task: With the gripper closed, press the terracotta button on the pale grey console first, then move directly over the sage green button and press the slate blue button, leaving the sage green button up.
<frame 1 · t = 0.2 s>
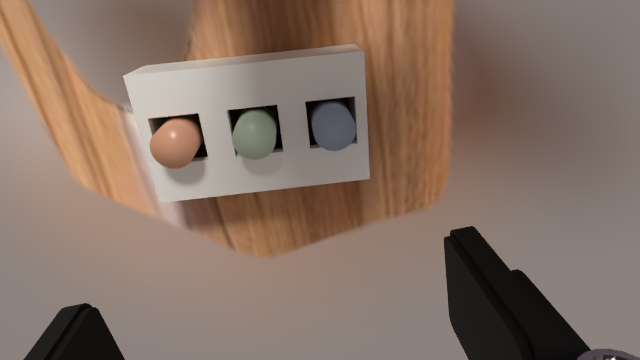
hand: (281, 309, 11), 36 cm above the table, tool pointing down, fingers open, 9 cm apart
slate button: (332, 123, 40), point 6 cm above the table, slide at 0.0 cm
terracotta button: (178, 139, 40), point 6 cm above the table, slide at 0.0 cm
console: (259, 115, 45), on the table
sage button: (255, 131, 40), point 6 cm above the table, slide at 0.0 cm
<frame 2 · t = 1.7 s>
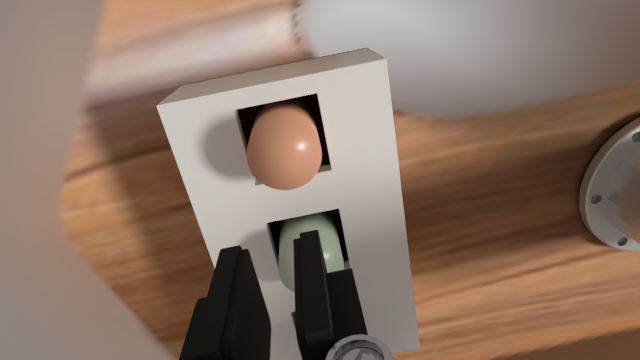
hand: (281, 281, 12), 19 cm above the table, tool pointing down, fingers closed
terracotta button: (284, 141, 24), point 6 cm above the table, slide at 0.0 cm
console: (305, 205, 32), on the table
sage button: (309, 246, 27), point 6 cm above the table, slide at 0.0 cm
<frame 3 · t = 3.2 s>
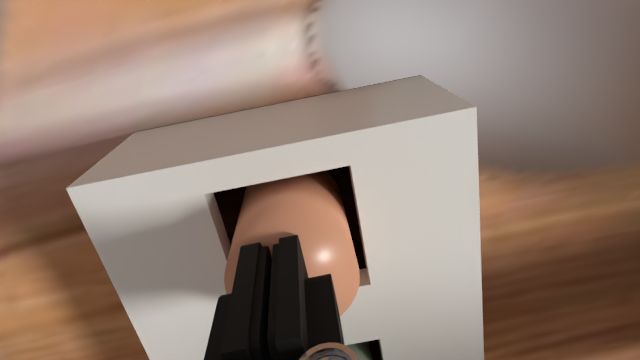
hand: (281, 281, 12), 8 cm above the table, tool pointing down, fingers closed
terracotta button: (292, 237, 14), point 6 cm above the table, slide at 0.4 cm, touching gripper
console: (321, 297, 23), on the table
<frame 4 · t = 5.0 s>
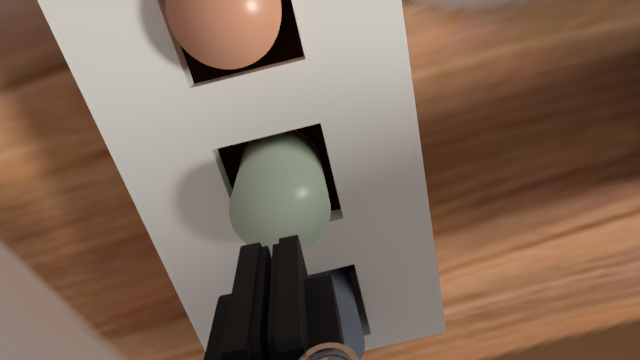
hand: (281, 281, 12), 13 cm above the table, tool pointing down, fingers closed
slate button: (318, 311, 21), point 6 cm above the table, slide at 0.0 cm
terracotta button: (232, 9, 17), point 5 cm above the table, slide at 1.4 cm
console: (281, 143, 24), on the table
sage button: (280, 186, 18), point 6 cm above the table, slide at 0.0 cm
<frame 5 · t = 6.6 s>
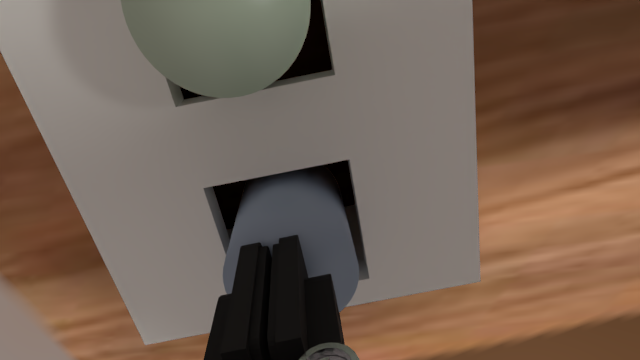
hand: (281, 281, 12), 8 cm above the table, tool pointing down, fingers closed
slate button: (291, 233, 14), point 6 cm above the table, slide at 0.2 cm, touching gripper
console: (252, 2, 16), on the table
sage button: (232, 3, 11), point 6 cm above the table, slide at 0.0 cm
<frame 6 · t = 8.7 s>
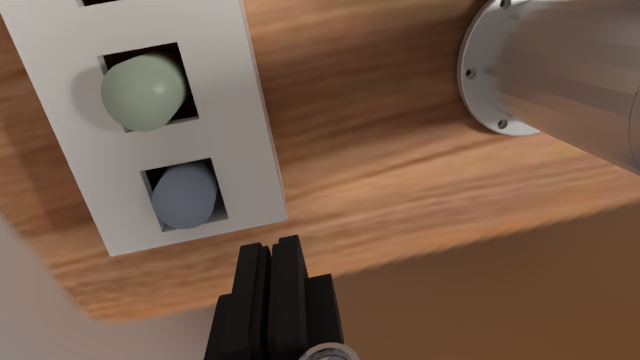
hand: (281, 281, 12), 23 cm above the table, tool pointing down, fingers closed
slate button: (189, 187, 30), point 5 cm above the table, slide at 1.4 cm
console: (170, 74, 31), on the table
sage button: (150, 89, 25), point 6 cm above the table, slide at 0.0 cm
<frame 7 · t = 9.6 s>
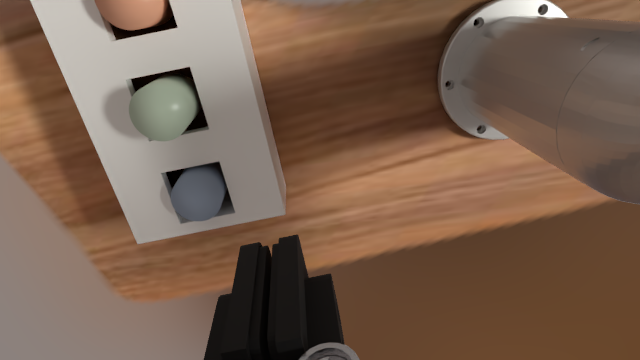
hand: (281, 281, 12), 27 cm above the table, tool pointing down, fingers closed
slate button: (202, 186, 35), point 5 cm above the table, slide at 1.4 cm
console: (186, 89, 36), on the table
sage button: (168, 105, 30), point 6 cm above the table, slide at 0.0 cm
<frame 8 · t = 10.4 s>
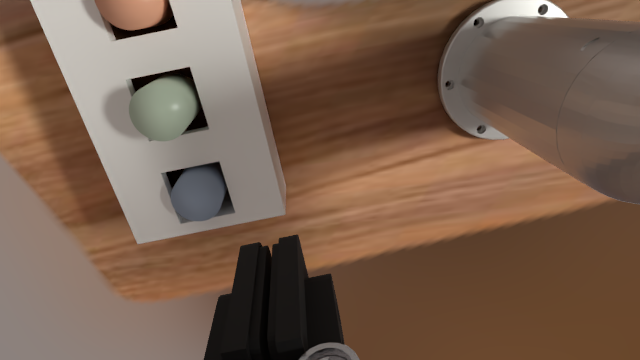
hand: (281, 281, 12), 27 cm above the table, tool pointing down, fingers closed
slate button: (202, 186, 35), point 5 cm above the table, slide at 1.4 cm
console: (186, 89, 36), on the table
sage button: (168, 105, 30), point 6 cm above the table, slide at 0.0 cm
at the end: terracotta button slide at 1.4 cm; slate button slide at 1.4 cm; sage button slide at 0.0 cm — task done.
